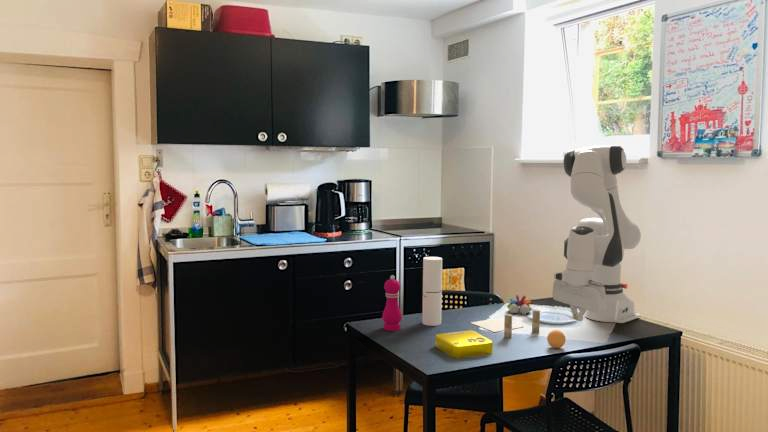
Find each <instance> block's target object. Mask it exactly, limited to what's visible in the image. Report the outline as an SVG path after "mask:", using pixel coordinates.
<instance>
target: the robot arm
mask: <svg viewBox="0 0 768 432" xmlns="http://www.w3.org/2000/svg"><path fill="white" fill-rule="evenodd" d="M562 161H563V162H562V165H563V170H564V172H565V174H566V175H567V176H568V177H570V194H571V195H572V196H571V197H572V198H573V199H574V200H575V201H576V202H577V203H579V204H580V205H582V206H584V207H587V208H589V209H590V210H591V211H592V212H594V213H595V214H596V215H597V216H599V217H588V218H582V219H581V220H580V221H579V222H578V224H577V225H576V226H574V227H572V228H571V229H570V230H569V234H568V237H567V238H566V239H565V240H564V242H563V244H564V245H563V246H564V247H563V257H564V258H565V259H566V260H567V262H566V265H565V266H566V267H565V270H564V271H558V272H555V273H553V279H554V281H553V283H552V295H551V296H552V298H553V300H554V301H557V302H560V303H562V304H565V305H569V309H570V311H571V314H572V315H571V316H572V319H573V320H575V321H578V322H582V321H583V320H584V317H585V318H587V319H589V320H593V321H597V322H602V323H603V322H604V323H618V324H625V323H627V322H631V321H633V320H635V319H639V318H641V313H639V312H637V311H635V302H634V301H633V299H631V297H629V296H628V295H626V293H625V292H624V289H625V290H627V289H628V283H624V282H622V283H621V272H622V271H621V269H622V265H621V262H622V261H623V259H624V254H625V252H624V251H625V250H633V249H635V248H636V247H637V246H638V245H639V244H640V242H641V237H642V235H641V229H640V228H639V226H638V225H637V224H636V223H634V222H633V221H632V220H631V219H630V218H629V217H628V215H627V214H626V212H625V211H624V209H623V207H622V205H621V202H620V195H619V188H618V181H617V175H618V174H620V173H622V172H623V171H624V170H625V169H626V168H625V167H626V164H627V155H626V152H625V151H624V148H623V147H622V146H621V145H617V144H611V145H593V146H589V147H582V148H578V149H577V148H572V149H571V150H570V149H569V150H568V151H566V152H565V153H564V156H563V160H562ZM578 311H579V312H578Z"/></svg>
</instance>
